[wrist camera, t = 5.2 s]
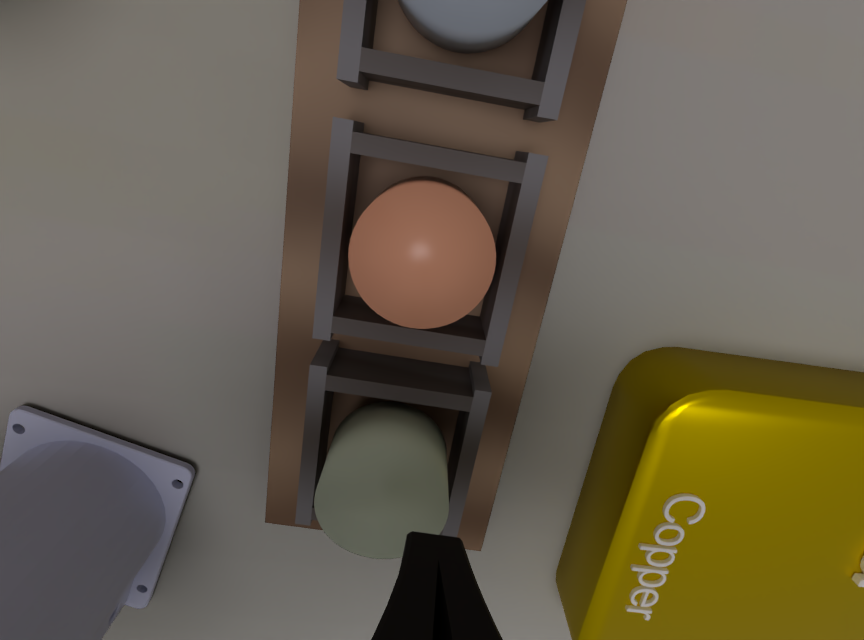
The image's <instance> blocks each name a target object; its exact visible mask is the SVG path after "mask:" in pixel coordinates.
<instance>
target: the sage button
mask: <svg viewBox="0 0 864 640" xmlns="http://www.w3.org/2000/svg"><path fill="white" fill-rule="evenodd" d="M314 508H315V514H316V517H317V520H318V522H319V524H320V526H321V528H322V529H323V531H324V532H325V533H326V534H327V536H328V537H329V538H330V539H331V540H333V541H334V542H335V543H336V544H338V545H339V546H340V547H342V548H344V549H346V550H347V551H349V552H352V553H354V554H357V555H360V556H364V557H368V558H375V559H393V558H400V557H403V552H404V547H405V541H406V536H407V534H408V533H410V532H412V531H414V532H422V533H429V534H436V535H439V534H440V533H441V531H442V530H443V528H444V526H445V524H446V521H447V518H448V513H449V494H448V473H447V451H446V443H445V439H444V436H443V434H442V432H441V430H440V428H439V427H438V425H437V424H436V423H435V422H434V421H433V420H432V419H431V418H430V417H429V416H428V415H427V414H425V413H424V412H422V411H421V410H419V409H417V408H415V407H412V406H410V405H407V404H403V403H398V402H378V403H372V404H369V405H365V406H363V407H360V408H358V409H357V410H355V411H353V412H352V413H350V414H349V415H348V416H347V417H346V418H345V419H344V420H343V421H342V422H341V423H340V425H339V426H338V428H337V430H336V432H335V434H334V437H333V440H332V443H331V446H330V449H329V452H328V455H327V458H326V461H325V464H324V467H323V470H322V473H321V476H320V479H319V482H318V485H317V488H316V492H315V497H314Z"/></svg>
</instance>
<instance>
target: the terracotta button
mask: <svg viewBox="0 0 864 640" xmlns="http://www.w3.org/2000/svg"><path fill="white" fill-rule="evenodd" d="M348 260H349V269H350V273H351V277H352V280H353V282H354V285H355V287H356V289H357V291H358V293H359V294H360V296H361V297H362V299H363V300H364V301H365V302H366V304H367V305H368V306H369V307H370V308H371V309H372V310H374V311H375V312H376V313H377V314H378V315H380V316H381V317H383V318H385V319H386V320H388V321H390V322H392V323H395V324H398V325H400V326H404V327H409V328H416V329H430V328H437V327H441V326H445V325H448V324H450V323H453V322H455V321H457V320H459V319H461V318H462V317H464V316H465V315H467V314H468V313H469V312H471V311H472V310H473V309H474V308H475V307H476V306H477V305H478V304H479V302H480V301H481V300H482V299H483V297H484V296H485V294H486V292H487V291H488V289H489V286H490V284H491V282H492V279H493V275H494V272H495V265H496V249H495V242H494V238H493V235H492V232H491V230H490V227H489V225H488V223H487V221H486V220H485V218H484V216H483V215H482V213H481V212H480V210H479V209H478V207H477V206H476V204H475V203H474V202H473V200H472V199H471V198H470V197H469V196H468V195H467V194H466V193H465V192H464V191H463V190H462V189H460V188H459V187H458V186H456V185H454V184H452V183H451V182H448V181H446V180H443V179H440V178H436V177H428V176H417V177H411V178H407V179H404V180H401V181H399V182H396V183H394V184H392V185H391V186H389V187H388V188H386V189H385V190H384V191H383V192H382V193H380V194H379V196H378V197H377V198H376V199H375V200H374V201H373V202H372V203H371V204H370V205H369V206H368V207H367V209H366V210H365V211H364V212H363V213H362V215H361V216H360V218H359V219H358V221H357V223H356V225H355V227H354V229H353V232H352V235H351V238H350V243H349V252H348Z"/></svg>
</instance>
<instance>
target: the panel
mask: <svg viewBox="0 0 864 640" xmlns="http://www.w3.org/2000/svg"><path fill="white" fill-rule="evenodd" d="M626 3H627V0H547V2H546V3H545V4H544V5H543V6H542V8H541V9H540V10H539V11H538V12H537V14H536V15H535V16H534V17H533V18H532V20H531V21H530V22H529V23H528V24H527V25H526V26H525V28H524V29H523V30H522V31H521V32H520V33H519V34H517V35H516V36H515V37H514V38H513V39H511V40H510V41H508V42H507V43H505V44H503V45H501V46H499V47H497V48H495V49H492V50H489V51H486V52H480V53H468V54H465V53H457V52H453V51H449V50H446V49H443V48H441V47H439V46H437V45H435V44H433V43H432V42H430V41H428V40H427V39H426V38H425V37H423V36H422V35H421V34H420V33H419V32H418V31H417V30H416V29H415V28H414V27H413V26H412V24H411V23H410V22H409V20H408V19H407V17H406V16H405V14H404V12H403V10H402V9H401V7H400V5H399V2H398V0H300V3H299V19H298V34H297V49H296V64H295V79H294V94H293V109H292V124H291V139H290V154H289V170H288V185H287V200H286V215H285V230H284V245H283V260H282V275H281V290H280V306H279V321H278V336H277V351H276V366H275V381H274V396H273V411H272V426H271V442H270V457H269V472H268V487H267V502H266V517H265V523H273V524H281V525H288V526H296V527H303V528H311V529H318V530H323V529H322V528H321V526H320V524H319V522H318V520H317V517H316V514H315V508H314V497H315V492H316V488H317V485H318V482H319V479H320V476H321V473H322V470H323V467H324V464H325V461H326V458H327V455H328V452H329V449H330V446H331V443H332V440H333V437H334V434H335V432H336V430H337V428H338V426H339V425H340V423H341V422H342V421H343V420H344V419H345V418H346V417H347V416H348V415H349V414H350V413H352V412H353V411H355V410H357V409H358V408H360V407H363V406H365V405H369V404H372V403H378V402H398V403H403V404H407V405H410V406H412V407H415V408H417V409H419V410H421V411H422V412H424V413H425V414H427V415H428V416H429V417H430V418H431V419H432V420H433V421H434V422H435V423H436V424H437V425H438V427H439V428H440V430H441V432H442V434H443V436H444V439H445V443H446V451H447V473H448V494H449V513H448V518H447V521H446V524H445V526H444V528H443V530H442V531H441V533H440V534H439V535H444V536H451V537H459V538H460V539H461V540H462V541H463V544H464V547H465V549H469V550H476V551H481V548H482V545H483V541H484V537H485V533H486V530H487V526H488V522H489V518H490V515H491V511H492V507H493V503H494V500H495V496H496V492H497V488H498V484H499V481H500V477H501V473H502V469H503V466H504V462H505V458H506V454H507V451H508V447H509V443H510V439H511V436H512V432H513V428H514V424H515V421H516V417H517V413H518V409H519V406H520V402H521V398H522V394H523V390H524V387H525V383H526V379H527V375H528V372H529V368H530V364H531V360H532V357H533V353H534V349H535V345H536V342H537V338H538V334H539V330H540V327H541V323H542V319H543V315H544V311H545V308H546V304H547V300H548V296H549V293H550V289H551V285H552V281H553V278H554V274H555V270H556V266H557V263H558V259H559V255H560V251H561V248H562V244H563V240H564V236H565V233H566V229H567V225H568V221H569V217H570V214H571V210H572V206H573V202H574V199H575V195H576V191H577V187H578V184H579V180H580V176H581V172H582V169H583V165H584V161H585V157H586V154H587V150H588V146H589V142H590V139H591V135H592V131H593V127H594V123H595V120H596V116H597V112H598V108H599V105H600V101H601V97H602V93H603V90H604V86H605V82H606V78H607V75H608V71H609V67H610V63H611V60H612V56H613V52H614V48H615V45H616V41H617V37H618V33H619V29H620V26H621V22H622V18H623V14H624V11H625V7H626ZM417 176H428V177H436V178H440V179H443V180H446V181H448V182H451V183H452V184H454V185H456V186H458V187H459V188H460V189H462V190H463V191H464V192H465V193H466V194H467V195H468V196H469V197H470V198H471V199H472V200H473V202H474V203H475V204H476V206H477V207H478V209H479V210H480V212H481V213H482V215H483V216H484V218H485V220H486V221H487V223H488V225H489V227H490V230H491V232H492V235H493V238H494V242H495V249H496V265H495V272H494V275H493V279H492V282H491V284H490V286H489V289H488V291H487V292H486V294H485V296H484V297H483V299H482V300H481V301H480V302H479V304H478V305H477V306H476V307H475V308H474V309H473V310H472V311H471V312H469V313H468V314H467V315H465V316H464V317H462V318H461V319H459V320H457V321H455V322H453V323H450V324H448V325H445V326H441V327H437V328H430V329H416V328H409V327H404V326H400V325H398V324H395V323H392V322H390V321H388V320H386V319H385V318H383V317H381V316H380V315H378V314H377V313H376V312H375V311H374V310H372V309H371V308H370V307H369V306H368V305H367V304H366V302H365V301H364V300H363V299H362V297H361V296H360V294H359V293H358V291H357V289H356V287H355V285H354V282H353V280H352V277H351V273H350V269H349V260H348V252H349V243H350V238H351V235H352V232H353V229H354V227H355V225H356V223H357V221H358V219H359V218H360V216H361V215H362V213H363V212H364V211H365V210H366V209H367V207H368V206H369V205H370V204H371V203H372V202H373V201H374V200H375V199H376V198H377V197H378V196H379V194H380V193H382V192H383V191H384V190H385V189H386V188H388V187H389V186H391V185H392V184H394V183H396V182H399V181H401V180H404V179H407V178H411V177H417Z"/></svg>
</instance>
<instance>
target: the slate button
mask: <svg viewBox="0 0 864 640" xmlns="http://www.w3.org/2000/svg"><path fill="white" fill-rule="evenodd" d="M398 2H399V5H400V7H401V9H402V10H403V12H404V14H405V16H406V17H407V19H408V20H409V22H410V23H411V24H412V26H413V27H414V28H415V29H416V30H417V31H418V32H419V33H420V34H421V35H422V36H423V37H425V38H426V39H427V40H428V41H430V42H432V43H433V44H435V45H437V46H439V47H441V48H443V49H446V50H449V51H453V52H457V53H465V54H468V53H480V52H486V51H489V50H492V49H495V48H497V47H499V46H501V45H503V44H505V43H507V42H508V41H510V40H511V39H513V38H514V37H515V36H516V35H517V34H519V33H520V32H521V31H522V30H523V29H524V28H525V26H526V25H527V24H528V23H529V22H530V21H531V20H532V18H533V17H534V16H535V15H536V14H537V12H538V11H539V10H540V9H541V8H542V6H543V5H544V4H545V3H546V2H547V0H398Z"/></svg>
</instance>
